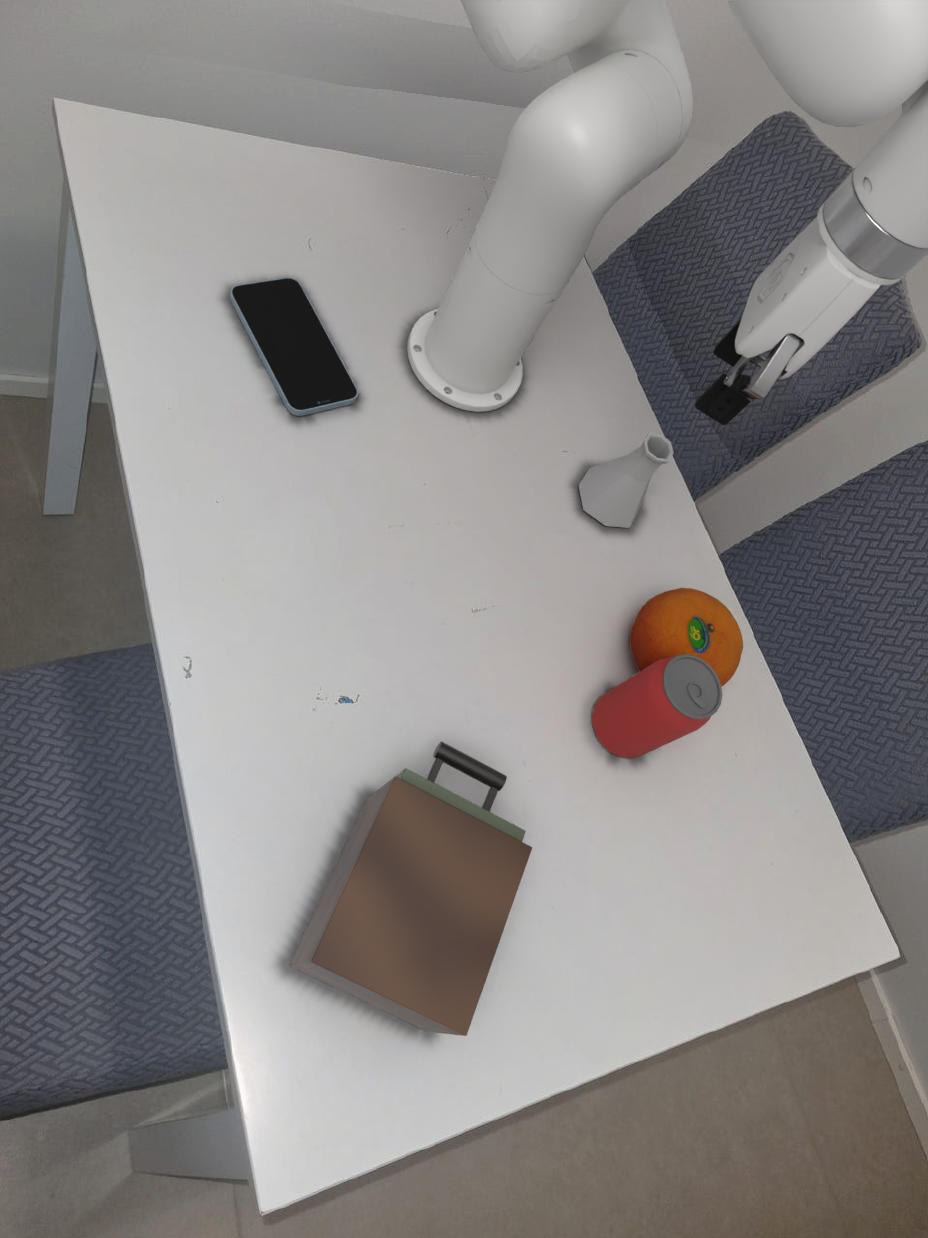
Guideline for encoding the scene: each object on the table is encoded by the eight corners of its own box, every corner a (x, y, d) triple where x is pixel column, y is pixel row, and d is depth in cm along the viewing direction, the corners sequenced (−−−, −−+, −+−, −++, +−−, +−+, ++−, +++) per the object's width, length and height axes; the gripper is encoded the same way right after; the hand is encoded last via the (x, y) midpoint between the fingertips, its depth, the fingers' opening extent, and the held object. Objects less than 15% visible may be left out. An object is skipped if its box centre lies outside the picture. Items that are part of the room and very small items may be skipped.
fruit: (685, 601, 89) (732, 568, 82) (723, 695, 86) (775, 669, 79) (599, 617, 85) (642, 584, 78) (637, 718, 82) (685, 692, 75)
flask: (634, 539, 90) (689, 490, 81) (572, 515, 88) (621, 462, 80) (641, 483, 93) (694, 431, 85) (581, 459, 92) (629, 403, 83)
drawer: (402, 741, 72) (428, 718, 66) (510, 797, 73) (544, 780, 67) (311, 938, 64) (331, 932, 58) (435, 998, 65) (466, 997, 59)
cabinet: (365, 799, 70) (395, 775, 62) (489, 862, 71) (532, 847, 64) (287, 966, 63) (310, 961, 56) (426, 1032, 65) (466, 1036, 57)
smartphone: (296, 275, 87) (362, 397, 83) (295, 282, 87) (360, 402, 84) (226, 286, 83) (292, 413, 80) (225, 292, 84) (290, 419, 81)
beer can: (610, 771, 79) (685, 737, 68) (576, 706, 80) (645, 663, 70) (662, 744, 82) (741, 707, 71) (629, 682, 83) (702, 637, 73)
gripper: (850, 129, 62) (705, 301, 78) (811, 272, 54) (656, 433, 69) (933, 186, 64) (773, 345, 79) (907, 335, 55) (733, 480, 70)
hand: (719, 385), depth 74 cm, fingers open, 6 cm apart
